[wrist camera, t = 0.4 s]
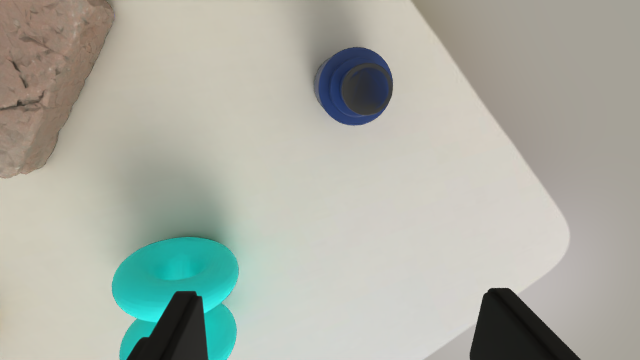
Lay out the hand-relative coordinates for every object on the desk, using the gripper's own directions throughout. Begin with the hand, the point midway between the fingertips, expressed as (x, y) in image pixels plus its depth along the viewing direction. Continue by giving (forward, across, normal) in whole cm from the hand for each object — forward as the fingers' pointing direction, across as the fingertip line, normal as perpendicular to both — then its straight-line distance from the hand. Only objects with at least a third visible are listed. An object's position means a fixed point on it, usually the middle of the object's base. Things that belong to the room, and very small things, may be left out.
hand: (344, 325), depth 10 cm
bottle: (+21, -2, -7) cm, 22 cm away
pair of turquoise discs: (+21, +12, +12) cm, 28 cm away
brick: (+21, +24, -8) cm, 33 cm away
